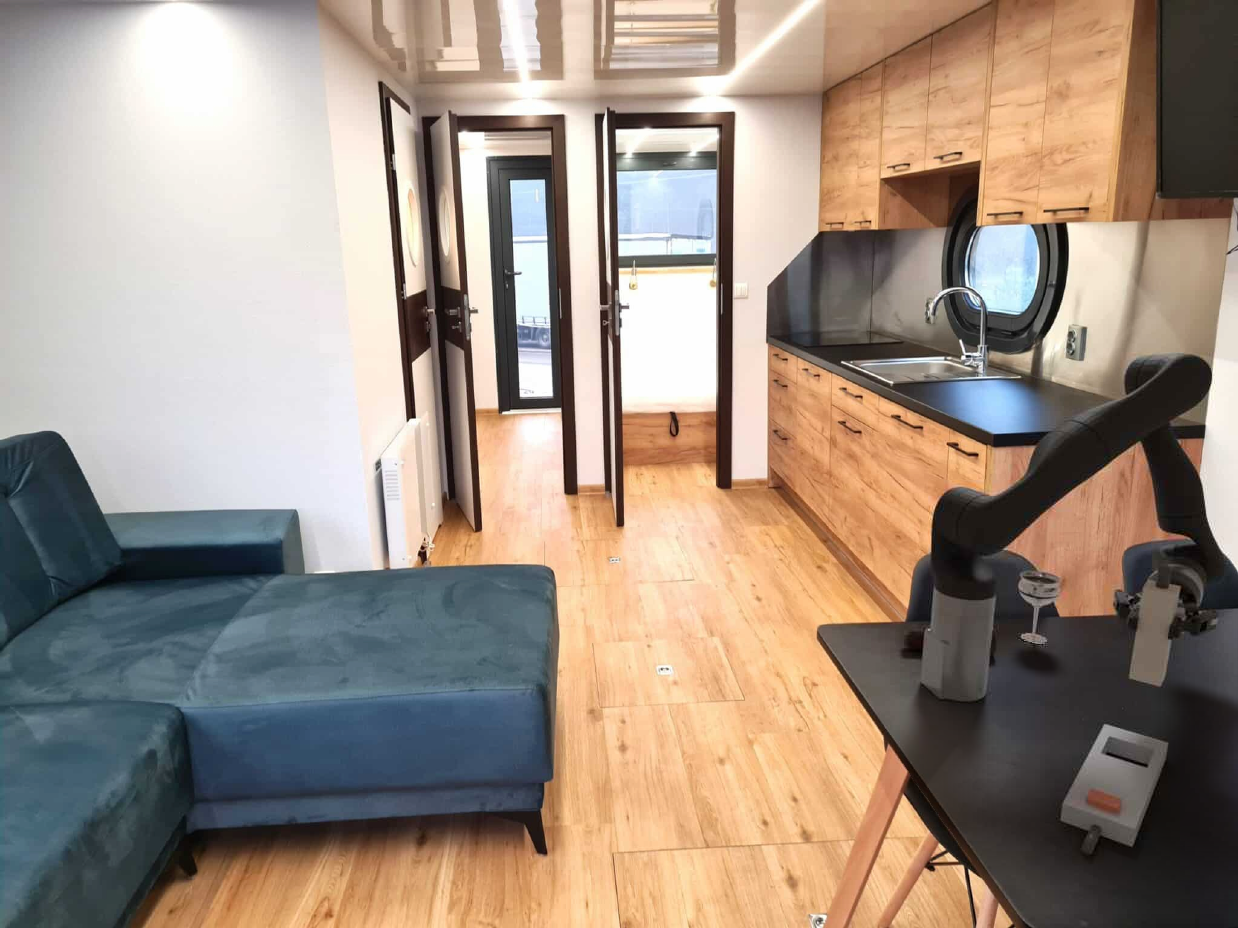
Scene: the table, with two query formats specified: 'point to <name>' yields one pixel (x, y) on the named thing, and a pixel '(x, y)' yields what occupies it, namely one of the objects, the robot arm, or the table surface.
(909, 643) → the bolt
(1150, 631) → the plug
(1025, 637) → the wineglass
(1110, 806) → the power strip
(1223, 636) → the table surface
